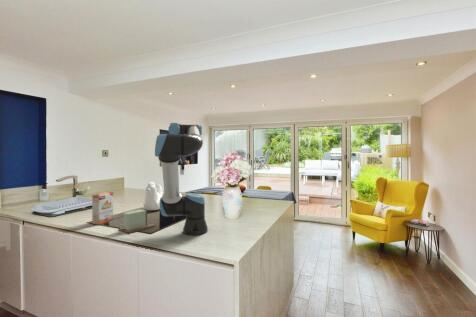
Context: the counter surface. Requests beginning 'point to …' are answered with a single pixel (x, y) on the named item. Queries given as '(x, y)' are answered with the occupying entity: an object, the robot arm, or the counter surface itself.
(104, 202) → the cracker box
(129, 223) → the sage block
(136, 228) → the walnut board
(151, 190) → the decorative rooster
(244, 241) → the counter surface
